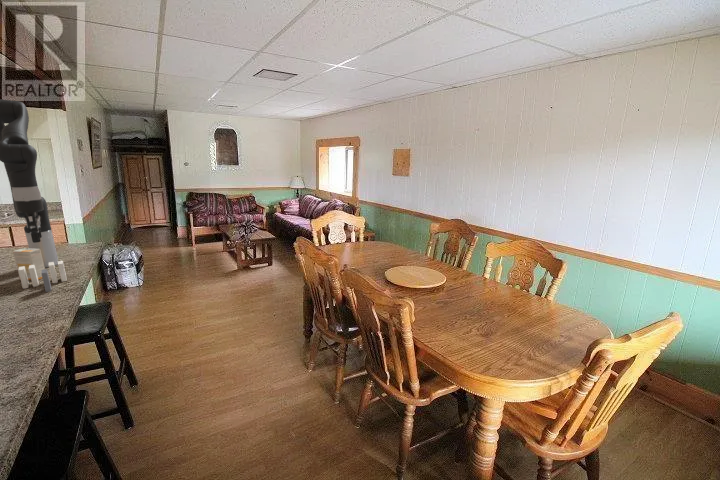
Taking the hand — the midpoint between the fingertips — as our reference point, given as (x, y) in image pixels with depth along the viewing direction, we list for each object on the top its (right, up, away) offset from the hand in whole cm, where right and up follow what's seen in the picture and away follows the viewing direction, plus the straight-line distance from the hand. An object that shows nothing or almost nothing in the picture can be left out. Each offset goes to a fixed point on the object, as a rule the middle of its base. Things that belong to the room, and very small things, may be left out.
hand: (37, 240), depth 131 cm
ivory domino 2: (-10, -19, +10) cm, 23 cm away
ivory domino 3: (-5, -18, +14) cm, 23 cm away
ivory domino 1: (-12, -19, +8) cm, 24 cm away
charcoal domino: (0, -20, +5) cm, 21 cm away
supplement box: (-17, -17, +16) cm, 29 cm away
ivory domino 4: (-3, -17, +15) cm, 23 cm away
